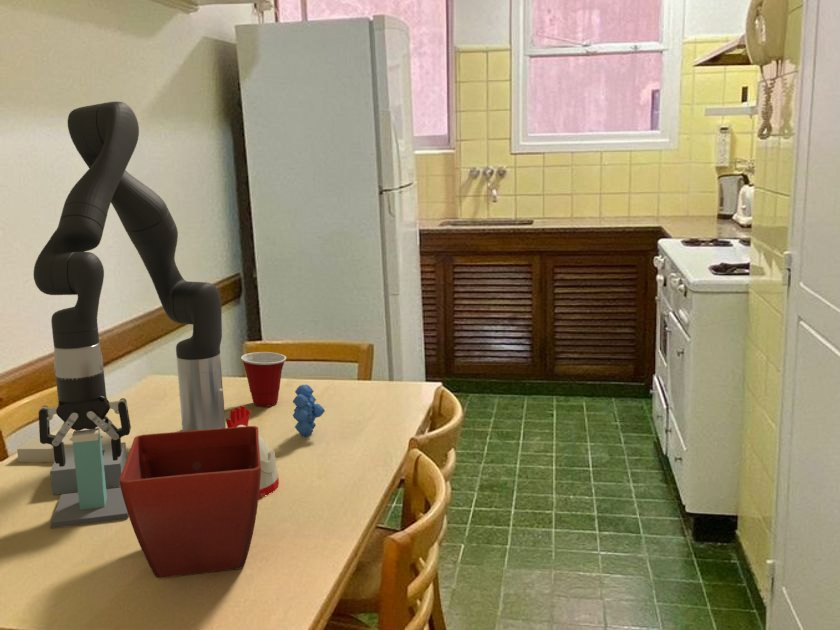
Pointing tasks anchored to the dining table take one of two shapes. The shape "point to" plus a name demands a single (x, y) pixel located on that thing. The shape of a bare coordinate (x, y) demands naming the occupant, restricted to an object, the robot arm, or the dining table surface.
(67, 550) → the dining table surface
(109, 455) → the grey square socket block
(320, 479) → the dining table surface
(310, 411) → the grapes
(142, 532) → the plant pot
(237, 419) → the kitchen timer
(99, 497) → the plug
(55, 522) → the mat
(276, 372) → the plastic cup
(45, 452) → the electrical outlet
